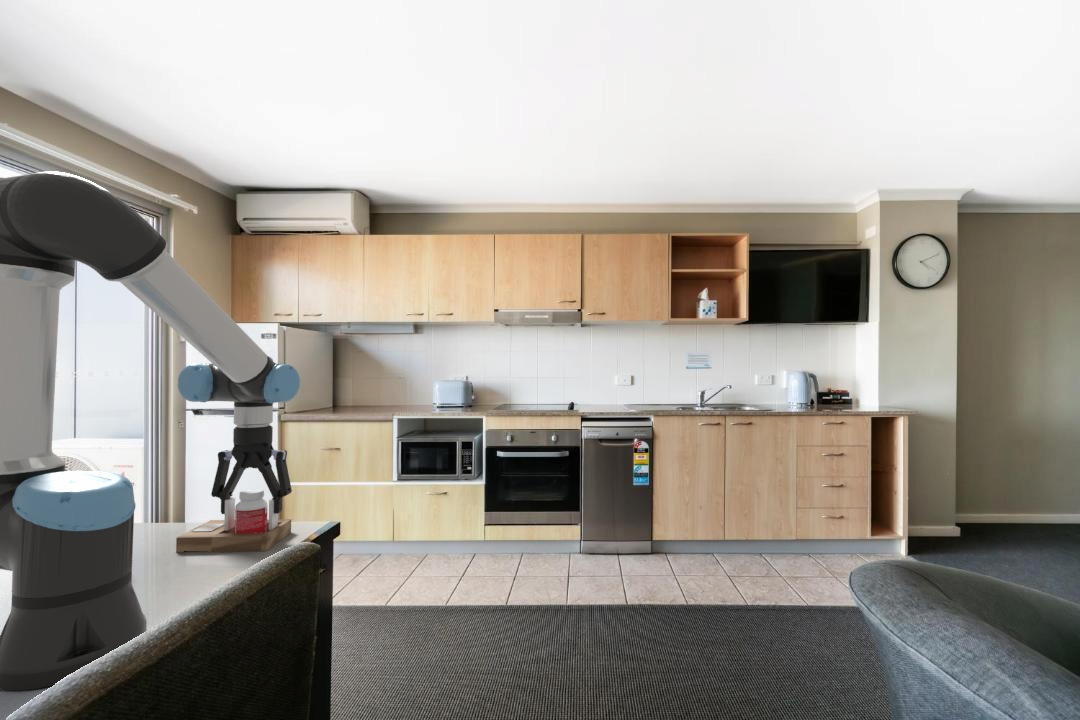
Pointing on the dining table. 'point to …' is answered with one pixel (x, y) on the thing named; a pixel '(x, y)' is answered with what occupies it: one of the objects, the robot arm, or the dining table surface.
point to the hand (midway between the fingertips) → (251, 528)
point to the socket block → (230, 538)
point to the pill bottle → (251, 512)
